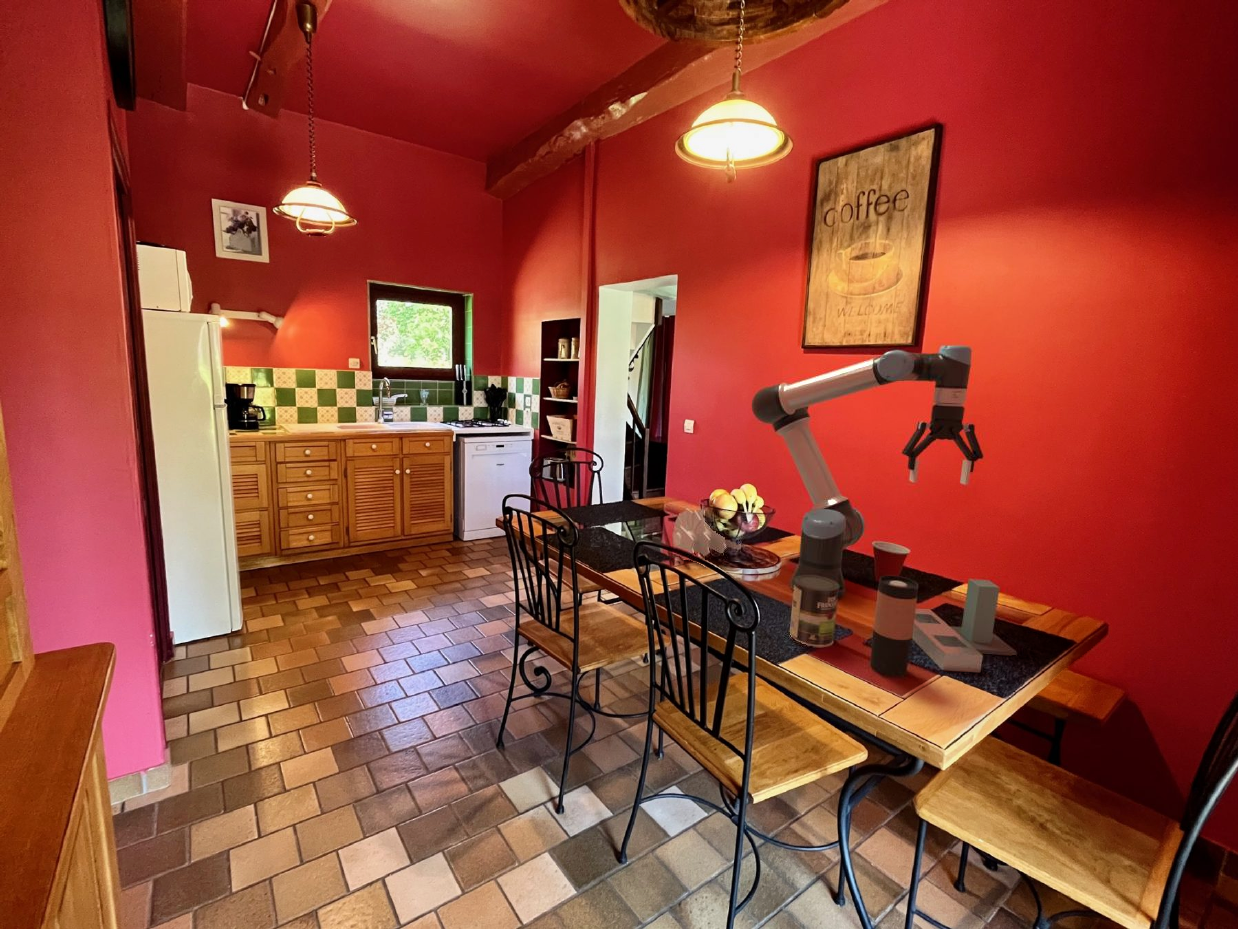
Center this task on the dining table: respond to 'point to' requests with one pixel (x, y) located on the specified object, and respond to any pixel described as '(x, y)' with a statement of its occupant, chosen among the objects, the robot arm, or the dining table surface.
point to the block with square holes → (944, 643)
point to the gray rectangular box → (980, 611)
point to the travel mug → (893, 625)
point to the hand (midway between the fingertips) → (938, 483)
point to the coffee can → (814, 610)
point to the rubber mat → (989, 645)
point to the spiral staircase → (698, 534)
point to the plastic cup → (888, 558)
